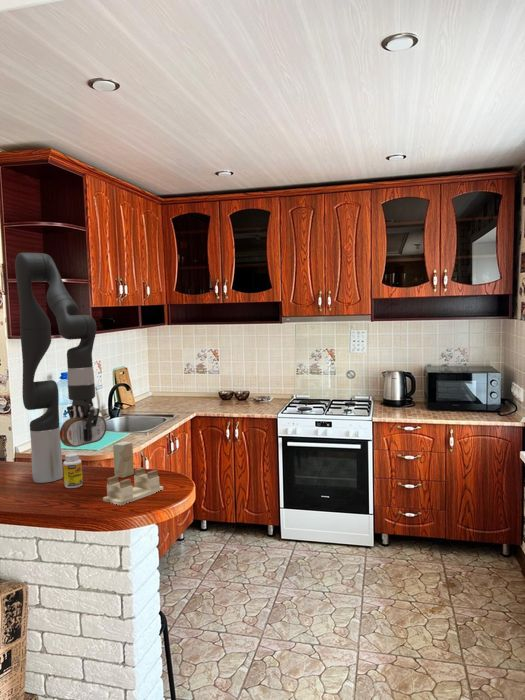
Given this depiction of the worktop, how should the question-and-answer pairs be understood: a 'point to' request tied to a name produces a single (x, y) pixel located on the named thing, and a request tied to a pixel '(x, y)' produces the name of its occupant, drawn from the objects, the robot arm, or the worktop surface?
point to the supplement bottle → (72, 471)
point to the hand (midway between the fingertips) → (84, 440)
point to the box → (123, 459)
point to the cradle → (126, 492)
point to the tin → (80, 432)
